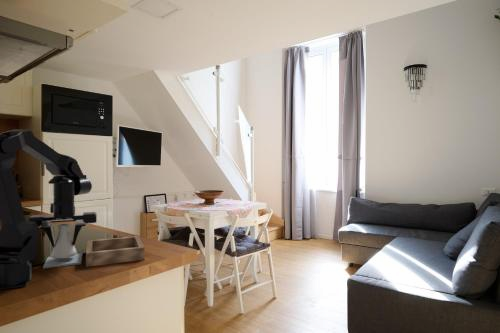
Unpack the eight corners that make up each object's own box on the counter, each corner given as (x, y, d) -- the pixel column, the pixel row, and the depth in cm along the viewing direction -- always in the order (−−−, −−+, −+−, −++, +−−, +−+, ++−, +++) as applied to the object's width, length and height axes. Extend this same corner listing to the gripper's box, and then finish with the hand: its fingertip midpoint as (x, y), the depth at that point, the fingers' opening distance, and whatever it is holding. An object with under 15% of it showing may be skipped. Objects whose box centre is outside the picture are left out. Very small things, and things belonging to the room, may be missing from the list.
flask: (65, 260, 96) (65, 227, 96) (44, 258, 97) (44, 226, 97) (81, 253, 103) (81, 223, 103) (62, 252, 104) (62, 222, 104)
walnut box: (86, 266, 95) (86, 253, 95) (87, 251, 111) (87, 240, 111) (144, 259, 103) (144, 247, 103) (138, 246, 118) (138, 235, 118)
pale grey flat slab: (43, 268, 93) (43, 266, 93) (47, 258, 102) (47, 256, 102) (81, 263, 98) (81, 262, 98) (82, 255, 107) (82, 253, 107)
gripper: (96, 193, 111) (96, 237, 111) (33, 195, 103) (33, 243, 103) (96, 197, 101) (96, 245, 101) (26, 199, 93) (26, 251, 93)
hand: (63, 246), depth 100 cm, fingers closed on flask, 5 cm apart
